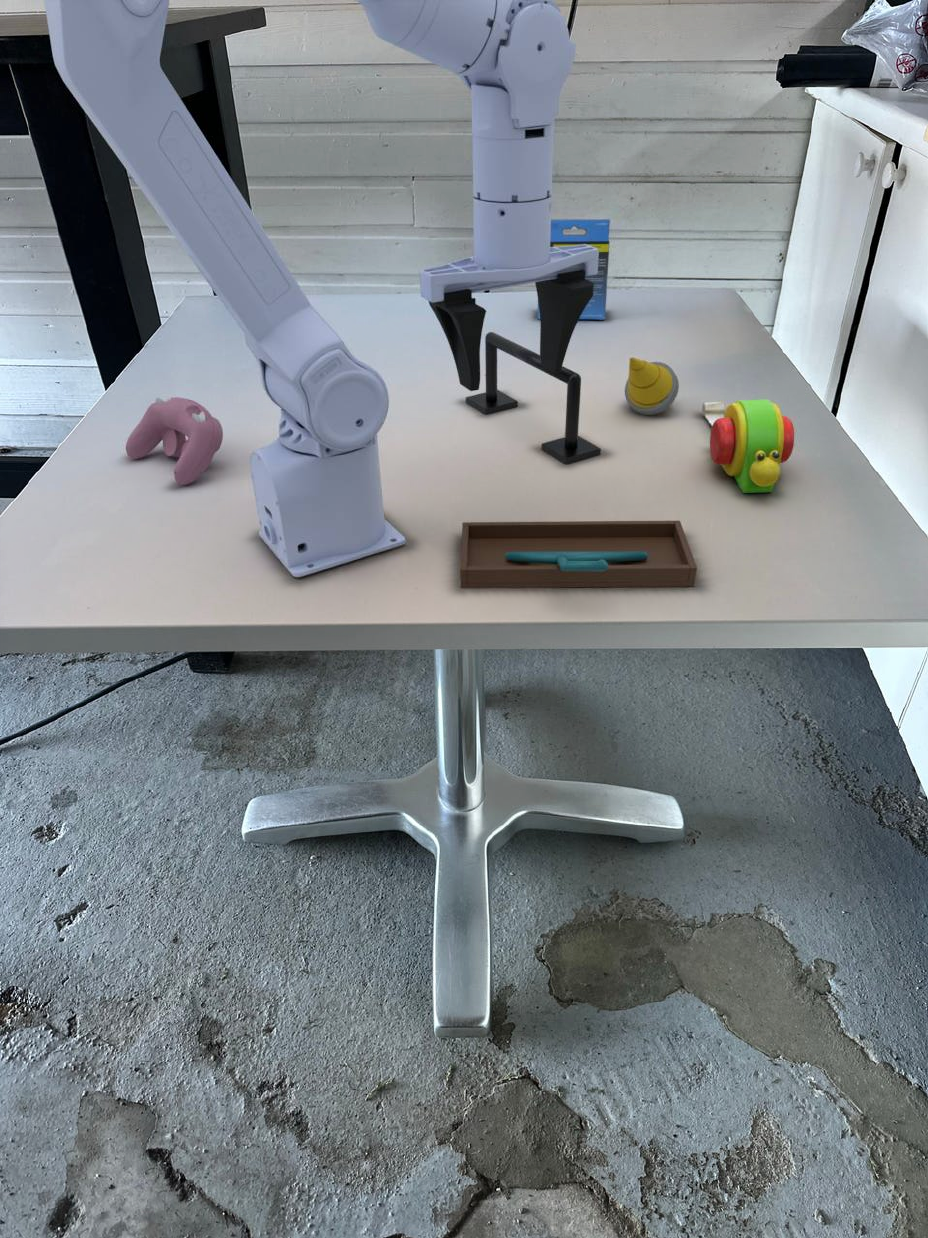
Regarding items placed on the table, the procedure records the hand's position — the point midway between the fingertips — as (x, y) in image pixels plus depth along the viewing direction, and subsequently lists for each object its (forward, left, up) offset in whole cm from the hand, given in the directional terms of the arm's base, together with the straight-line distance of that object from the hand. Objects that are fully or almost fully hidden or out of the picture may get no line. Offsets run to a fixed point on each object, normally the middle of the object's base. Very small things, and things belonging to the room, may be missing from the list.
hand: (510, 377), depth 72 cm
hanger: (-3, -13, -9) cm, 16 cm away
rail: (+9, +10, -10) cm, 17 cm away
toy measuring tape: (+21, -6, -10) cm, 24 cm away
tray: (-3, -13, -10) cm, 17 cm away
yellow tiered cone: (+21, +6, -10) cm, 24 cm away
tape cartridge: (+34, +37, -10) cm, 51 cm away
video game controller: (-23, +21, -10) cm, 33 cm away
